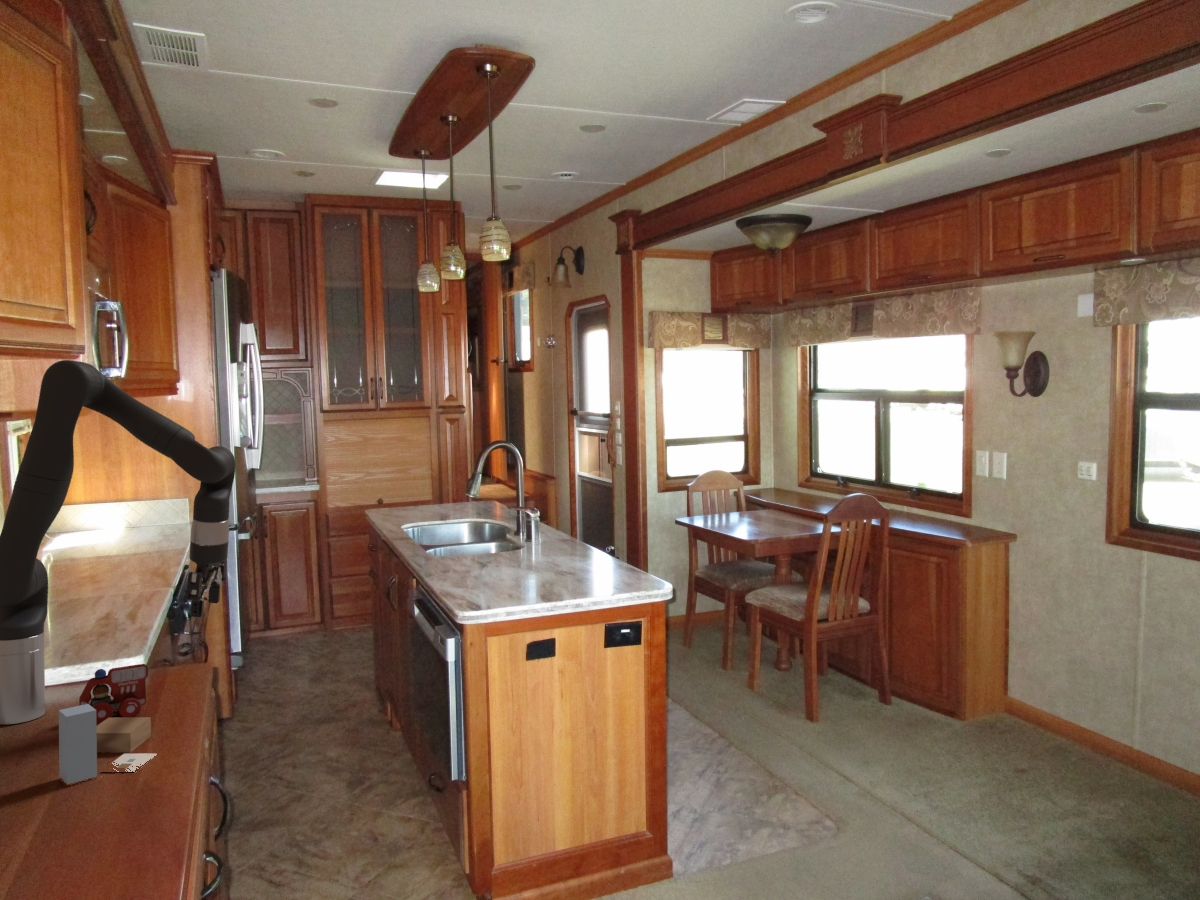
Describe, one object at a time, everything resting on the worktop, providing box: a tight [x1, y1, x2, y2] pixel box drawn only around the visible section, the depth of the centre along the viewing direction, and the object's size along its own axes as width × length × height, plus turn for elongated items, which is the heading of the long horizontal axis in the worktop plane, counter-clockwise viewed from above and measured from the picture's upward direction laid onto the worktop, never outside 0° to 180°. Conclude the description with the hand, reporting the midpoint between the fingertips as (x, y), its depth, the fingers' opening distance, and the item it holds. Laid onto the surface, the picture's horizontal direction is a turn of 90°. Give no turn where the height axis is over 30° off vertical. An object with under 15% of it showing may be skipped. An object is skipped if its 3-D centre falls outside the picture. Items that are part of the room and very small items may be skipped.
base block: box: [96, 716, 152, 754], centre depth 159 cm, size 8×8×4 cm
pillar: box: [58, 703, 98, 784], centre depth 144 cm, size 4×4×12 cm
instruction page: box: [111, 753, 157, 773], centre depth 150 cm, size 6×8×1 cm
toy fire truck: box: [78, 663, 149, 724], centre depth 173 cm, size 7×12×10 cm, turn 122°
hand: (205, 609), depth 183 cm, fingers open, 8 cm apart
